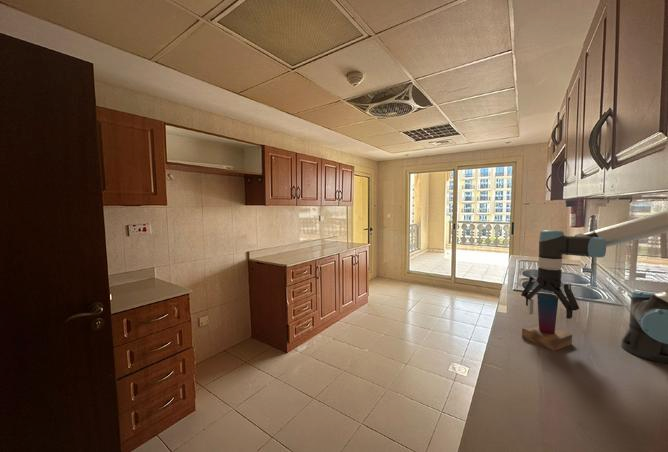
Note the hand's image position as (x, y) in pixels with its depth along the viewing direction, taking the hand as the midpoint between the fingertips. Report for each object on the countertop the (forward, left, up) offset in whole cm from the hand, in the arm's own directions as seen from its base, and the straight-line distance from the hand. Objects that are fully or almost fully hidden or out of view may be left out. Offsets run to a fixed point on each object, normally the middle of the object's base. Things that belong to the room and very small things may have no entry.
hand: (547, 319), depth 110 cm
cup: (0, 0, -5) cm, 5 cm away
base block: (0, 0, -9) cm, 9 cm away
